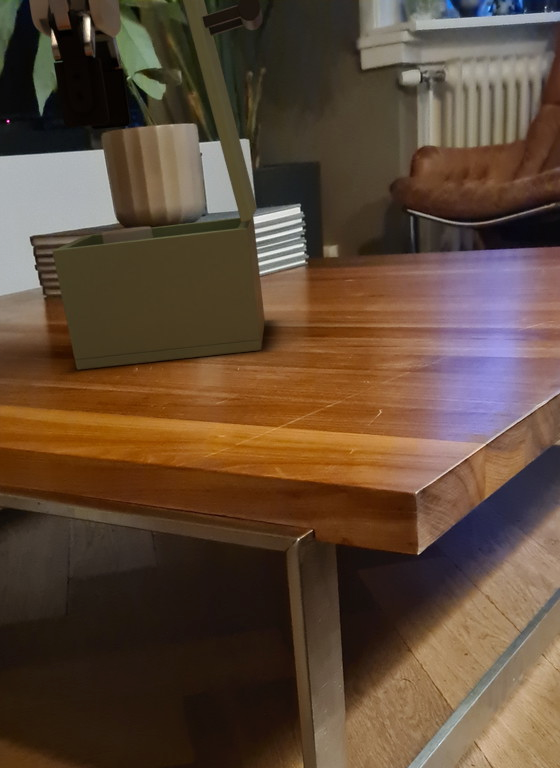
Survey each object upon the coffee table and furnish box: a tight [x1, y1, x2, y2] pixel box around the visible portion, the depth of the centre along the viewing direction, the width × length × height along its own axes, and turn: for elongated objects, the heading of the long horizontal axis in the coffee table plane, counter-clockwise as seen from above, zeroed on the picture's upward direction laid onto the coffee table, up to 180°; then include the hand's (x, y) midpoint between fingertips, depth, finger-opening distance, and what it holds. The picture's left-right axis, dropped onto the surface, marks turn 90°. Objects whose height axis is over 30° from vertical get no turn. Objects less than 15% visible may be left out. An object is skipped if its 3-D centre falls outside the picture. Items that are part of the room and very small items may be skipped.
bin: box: [51, 216, 266, 371], centre depth 75 cm, size 15×13×9 cm
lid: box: [182, 0, 264, 222], centre depth 69 cm, size 15×13×5 cm
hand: (100, 126), depth 70 cm, fingers open, 9 cm apart
